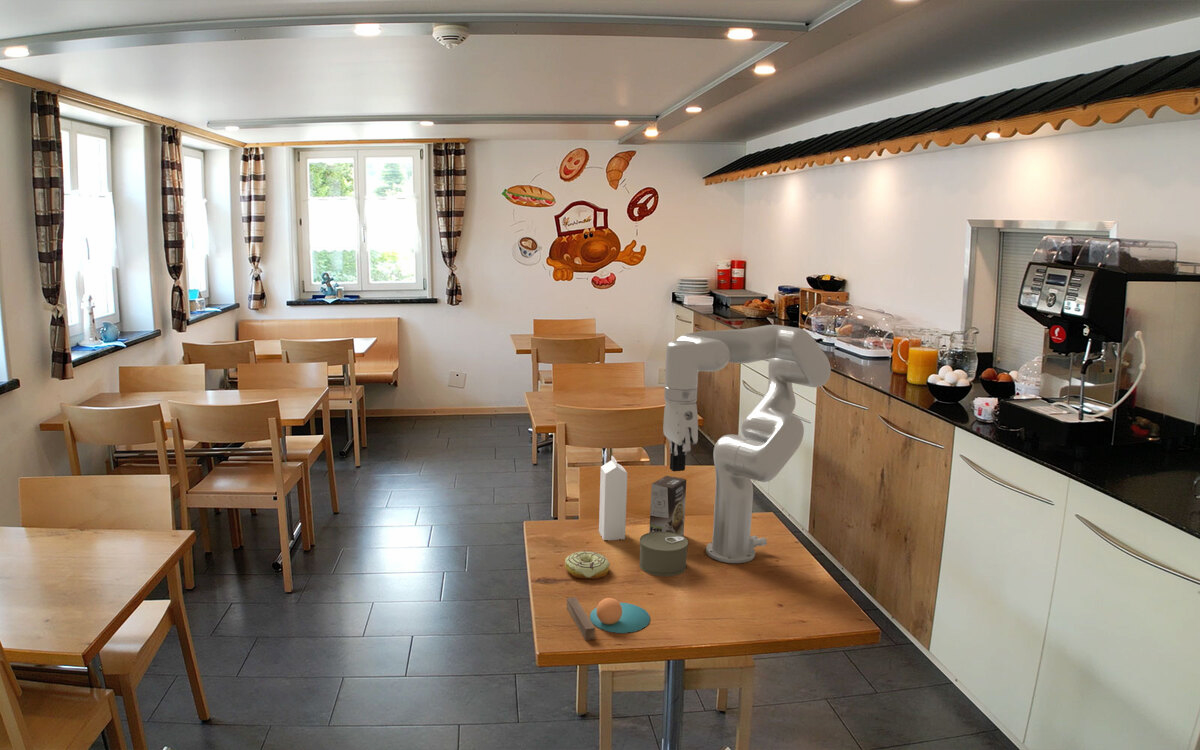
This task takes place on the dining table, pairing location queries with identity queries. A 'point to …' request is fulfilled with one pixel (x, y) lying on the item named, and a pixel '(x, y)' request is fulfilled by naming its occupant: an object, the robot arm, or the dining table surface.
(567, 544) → the dining table surface
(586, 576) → the decorated donut
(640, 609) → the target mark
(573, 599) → the rail
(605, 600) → the ball
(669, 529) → the coffee box
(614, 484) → the milk
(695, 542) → the dining table surface
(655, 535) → the can
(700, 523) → the dining table surface
